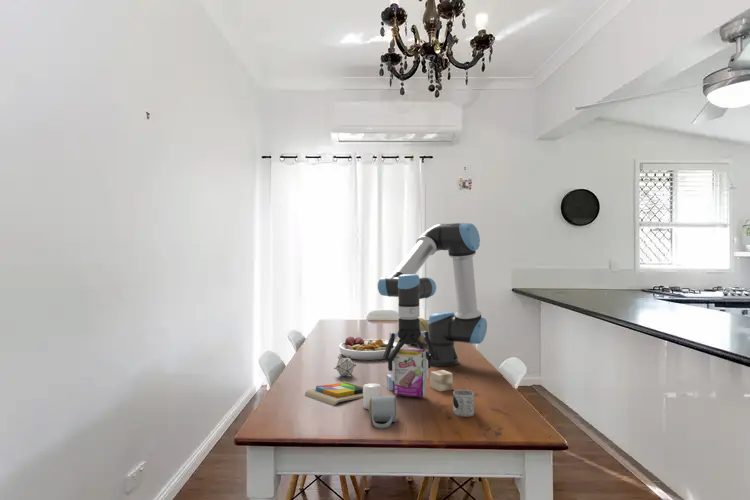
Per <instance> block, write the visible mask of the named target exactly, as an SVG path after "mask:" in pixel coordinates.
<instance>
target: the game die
mask: <svg viewBox="0 0 750 500" xmlns="http://www.w3.org/2000/svg"><path fill="white" fill-rule="evenodd" d="M337 358H338V361H337V363H336V367H334V368H333V369H334V370H336V371H337V372H338V373H339V375H340V376H339V378H340V379H341V378H342V377H343V376H345V377H346V376H351V377H353V371H354V368H355V367H356V366H357V364H354V362H353V360H352V359H351V358H350V356H349V358H348V357H343V358H342V357H341V358H340V357H339V356H338V357H337Z"/></svg>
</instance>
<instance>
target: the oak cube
mask: <svg viewBox="0 0 750 500" xmlns="http://www.w3.org/2000/svg"><path fill="white" fill-rule="evenodd" d="M429 373H430V374H429V377H430V378H429V379H430V380H429V382H430V383H429V384H430V385H429V386H430V388H431V389H433V390H435V391H438V392H444V391H450V390H453V388H454V387H453V386H454V385H453V381H454V380H453V376H454V375H453V373H452V372H450V371H447V370H444V369H441V370H440V369H439V370H433V371H430V372H429Z"/></svg>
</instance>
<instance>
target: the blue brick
mask: <svg viewBox="0 0 750 500" xmlns="http://www.w3.org/2000/svg"><path fill="white" fill-rule="evenodd" d="M386 388H387V390H388V391H393V380H392V379H391V373H390V374H388V373H387V374H386Z"/></svg>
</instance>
